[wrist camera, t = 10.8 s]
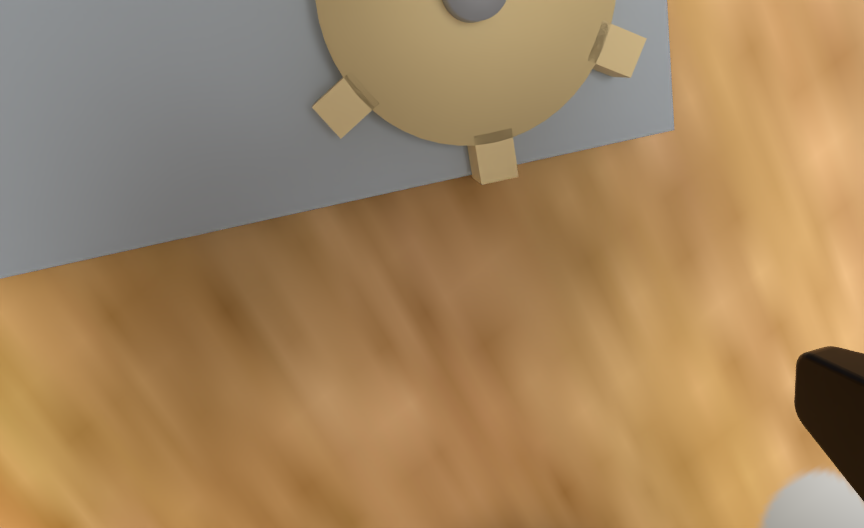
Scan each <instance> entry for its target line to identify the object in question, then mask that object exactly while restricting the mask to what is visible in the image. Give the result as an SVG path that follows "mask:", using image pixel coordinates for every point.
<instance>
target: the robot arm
mask: <svg viewBox="0 0 864 528" xmlns="http://www.w3.org/2000/svg"><path fill="white" fill-rule="evenodd" d="M794 403H795V409H796V413H797V415H798V417H799V419H800V421H801V422H802V424H803V425H804V427H805V428H806V429H807V430H808V432H809V433H810V434H811V435H812V437H813V438H814V439H815V440H816V442H817V443H818V444H819V445H820V447H821V448H822V449H823V451H824V452H825V453H826V454H827V456H828V457H829V458H830V459H831V461H832V462H833V463H834V464H835V466H836V467H837V468H838V469H839V471H840V472H841V473H842V475H843V476H844V477H845V478H846V480H847V481H848V482H849V483H850V485H851V486H852V487H853V488H854V490H855V491H856V492H857V493H858V495H859V496H860V497H861V499H862V500H863V501H864V354H863V353H859V352H854V351H850V350H846V349H842V348H838V347H833V346H828V347H823V348H819V349H816V350H813V351H809V352H806V353H803V354H802V355H800V357H799V358H798V360H797V364H796V380H795V400H794Z"/></svg>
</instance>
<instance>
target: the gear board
mask: <svg viewBox="0 0 864 528" xmlns="http://www.w3.org/2000/svg"><path fill="white" fill-rule="evenodd" d="M672 130H674V116H673V98H672V81H671V63H670V45H669V28H668V10H667V0H0V279H1V278H5V277H10V276H14V275H19V274H23V273H28V272H33V271H37V270H42V269H46V268H51V267H55V266H60V265H64V264H69V263H73V262H78V261H82V260H87V259H91V258H96V257H101V256H105V255H110V254H114V253H119V252H123V251H128V250H132V249H137V248H141V247H146V246H150V245H155V244H159V243H164V242H169V241H173V240H178V239H182V238H187V237H191V236H196V235H200V234H205V233H209V232H214V231H218V230H223V229H228V228H232V227H237V226H241V225H246V224H250V223H255V222H259V221H264V220H268V219H273V218H277V217H282V216H286V215H291V214H296V213H300V212H305V211H309V210H314V209H318V208H323V207H327V206H332V205H336V204H341V203H345V202H350V201H354V200H359V199H364V198H368V197H373V196H377V195H382V194H386V193H391V192H395V191H400V190H404V189H409V188H413V187H418V186H422V185H427V184H432V183H436V182H441V181H445V180H450V179H454V178H459V177H463V176H468V175H472V178H473V179H475V180H476V181H477V182H479V183H480V184H481V185H484V184H488V183H493V182H497V181H502V180H506V179H511V178H515V177H519V176H518V169H517V165H518V164H522V163H527V162H531V161H536V160H540V159H545V158H549V157H554V156H559V155H563V154H568V153H572V152H577V151H581V150H586V149H590V148H595V147H599V146H604V145H608V144H613V143H617V142H622V141H627V140H631V139H636V138H640V137H645V136H649V135H654V134H658V133H663V132H667V131H672Z"/></svg>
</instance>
